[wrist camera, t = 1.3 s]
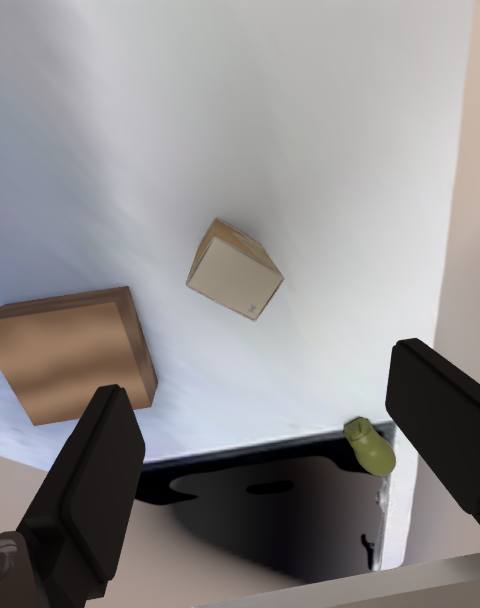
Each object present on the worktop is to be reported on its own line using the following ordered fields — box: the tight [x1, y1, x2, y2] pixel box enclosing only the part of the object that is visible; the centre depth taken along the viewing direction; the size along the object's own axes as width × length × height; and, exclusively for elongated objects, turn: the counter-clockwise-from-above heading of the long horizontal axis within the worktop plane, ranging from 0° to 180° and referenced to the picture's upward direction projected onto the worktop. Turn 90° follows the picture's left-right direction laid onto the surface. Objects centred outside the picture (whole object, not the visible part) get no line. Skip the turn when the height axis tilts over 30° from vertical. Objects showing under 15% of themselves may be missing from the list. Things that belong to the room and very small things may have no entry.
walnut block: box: [0, 286, 158, 426], centre depth 33 cm, size 14×14×5 cm
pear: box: [344, 417, 396, 476], centre depth 44 cm, size 6×5×10 cm
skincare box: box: [186, 218, 284, 321], centre depth 25 cm, size 6×4×12 cm
